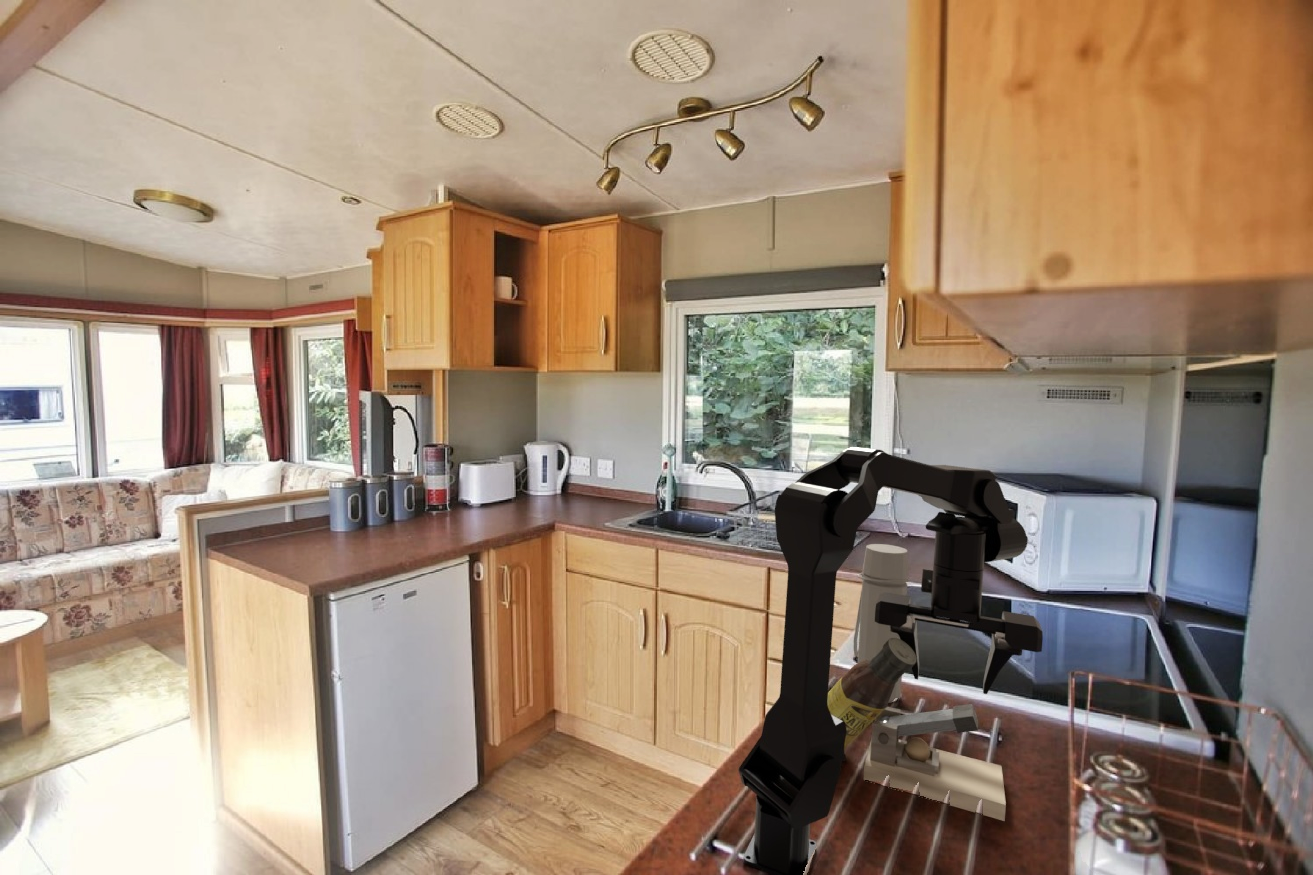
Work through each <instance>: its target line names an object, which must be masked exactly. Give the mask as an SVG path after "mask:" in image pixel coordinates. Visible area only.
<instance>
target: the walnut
mask: <svg viewBox="0 0 1313 875" xmlns="http://www.w3.org/2000/svg"><path fill="white" fill-rule="evenodd" d="M906 741H907V743H906V745H905V751H906V754H907V756H908V757H909V758H910V759H912V760H916V761H919V762H925V761H926V760H927V759H928V758H929V756H930V749H929V747H930V746H929V745H928V743H927V742H926V741H925V740H923V739H922V738H921V737H917V736H916V737H911V738H909V739H908V740H906Z"/></svg>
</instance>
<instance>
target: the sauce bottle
mask: <svg viewBox="0 0 1313 875" xmlns="http://www.w3.org/2000/svg"><path fill="white" fill-rule="evenodd" d="M915 663H916V655H915V653H914V651H913V650H912V648H911V647H910V646H909V645H908V644H906V643H905V642H904V641H902V640H901V639H898V638H890V639H889V640H888V641H887V642H886V643H885V644H884V645H883V649H882V650H881V651H880V652H879V653H878V654H877V655H876V656H875V657H873V658H872V660H870V661H867V660H866V661H863V662H859V663H858V662H857V663H856V664H854V665H853V666H852V667H851V668H850V669H849V670H848V671H847V673H845V674H843V676H842V677H841V678H840V679H839V680H838V681H837V682H836V683H835V684H834V685H833V687H832V688H831V689H830V690H828V700H827V703H828V708H829V711H830V713H831V714H832V715H834V716H835V717H837V718H839V719H840V720H842V721H844V722H845V725H846V730H847V733H846V738H845V744H844V751H845V750H846V749H847V748H848V747H849V746H850V745H851V744H853V742H855V740H856V739H857V738H858V737H859V736H860V734H862V733H863V732H864V731H865V730H866V728H868V727H869V726H870V725H871V724H872V723H873V720H876V717H877V716H878V715H879V714H880V713H882V712H883V711H884V709H885V708H886V707H889V705H888V704H889V703H888V702H889V699H890V697H891V694H892V691H893V689H894V686H895V683H896V682H897V681H898V680H899V678H900V677H901V676H902V677H903V675H904V674H905V673H906V672H908V671H909V670H912V667H913V666H914V665H915Z"/></svg>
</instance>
